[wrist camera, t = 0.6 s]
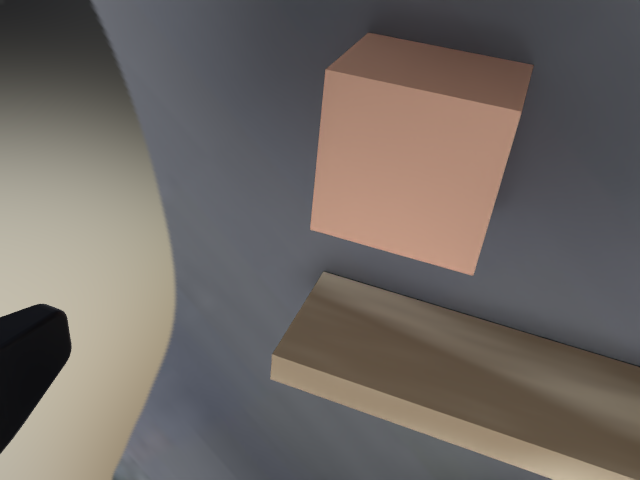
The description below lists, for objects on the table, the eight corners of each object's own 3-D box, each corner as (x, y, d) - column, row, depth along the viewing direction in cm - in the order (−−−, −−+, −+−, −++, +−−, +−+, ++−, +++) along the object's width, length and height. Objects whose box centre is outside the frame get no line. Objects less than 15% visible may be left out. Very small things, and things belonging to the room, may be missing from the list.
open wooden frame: (692, 410, 22) (714, 536, 18) (320, 294, 25) (270, 379, 21) (1052, -125, 12) (1269, -109, 8) (380, -197, 16) (309, -210, 12)
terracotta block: (491, 209, 21) (473, 276, 17) (350, 173, 22) (310, 229, 19) (534, 63, 18) (521, 111, 15) (369, 31, 19) (325, 69, 16)
